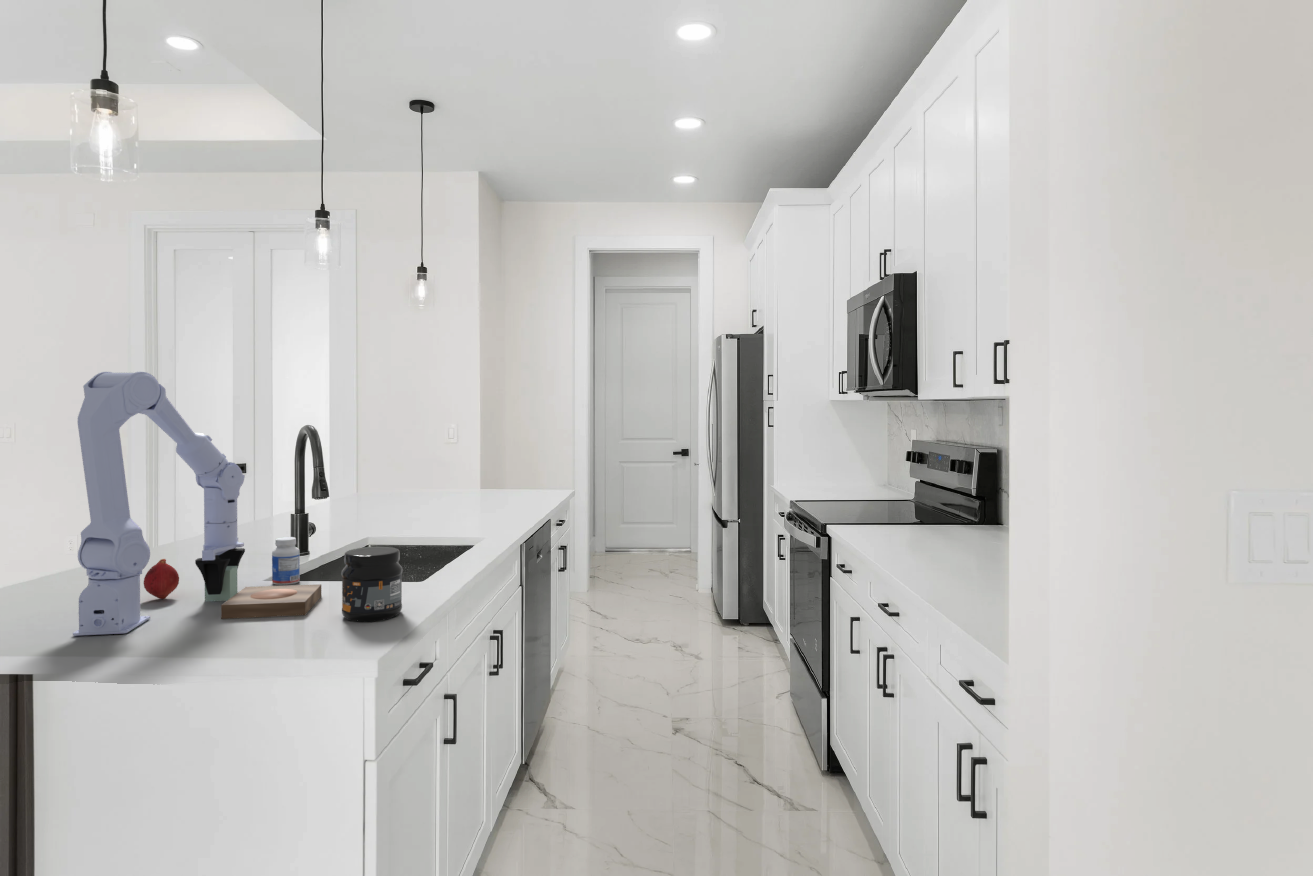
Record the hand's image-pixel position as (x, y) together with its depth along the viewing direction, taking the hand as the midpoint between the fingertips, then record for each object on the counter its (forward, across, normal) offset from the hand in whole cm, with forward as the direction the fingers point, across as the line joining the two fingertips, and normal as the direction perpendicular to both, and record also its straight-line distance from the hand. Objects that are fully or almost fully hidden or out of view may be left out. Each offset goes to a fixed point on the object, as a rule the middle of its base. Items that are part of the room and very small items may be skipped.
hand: (221, 589), depth 149 cm
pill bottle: (+2, +12, -9) cm, 15 cm away
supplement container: (+2, -18, -31) cm, 36 cm away
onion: (+2, +1, +11) cm, 11 cm away
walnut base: (+2, -9, -12) cm, 15 cm away
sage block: (+2, 0, 0) cm, 2 cm away
